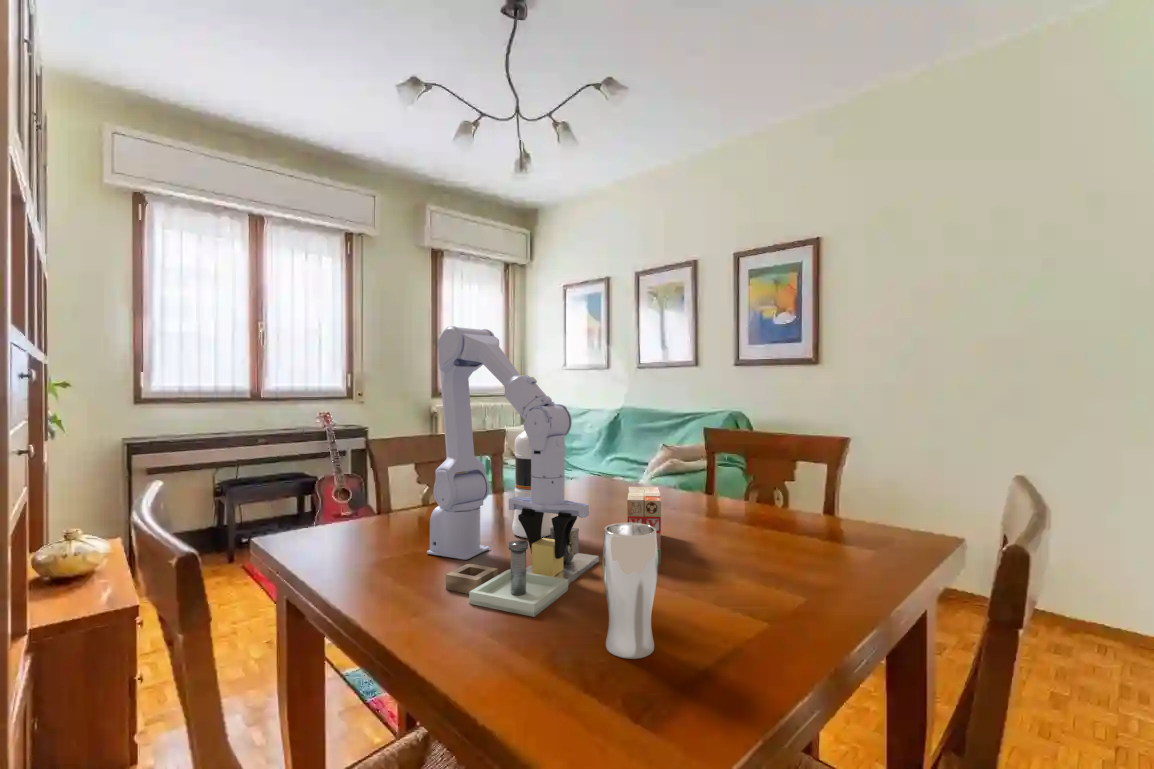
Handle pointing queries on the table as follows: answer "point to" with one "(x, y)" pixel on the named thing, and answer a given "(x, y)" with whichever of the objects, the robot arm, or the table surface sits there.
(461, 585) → the socket
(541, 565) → the pale yellow cube
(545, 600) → the tray
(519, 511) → the vodka
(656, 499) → the stack of blocks
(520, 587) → the pin
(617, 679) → the table surface
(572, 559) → the trolley wheel
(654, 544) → the beer glass
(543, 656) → the table surface
